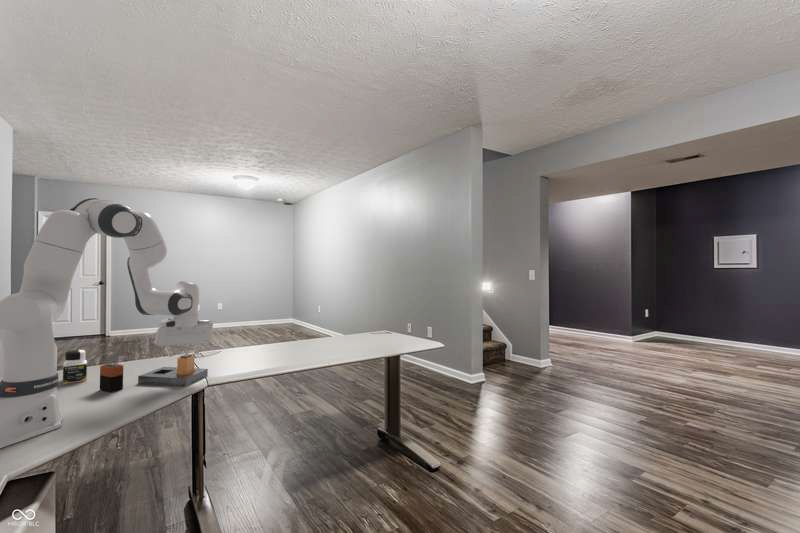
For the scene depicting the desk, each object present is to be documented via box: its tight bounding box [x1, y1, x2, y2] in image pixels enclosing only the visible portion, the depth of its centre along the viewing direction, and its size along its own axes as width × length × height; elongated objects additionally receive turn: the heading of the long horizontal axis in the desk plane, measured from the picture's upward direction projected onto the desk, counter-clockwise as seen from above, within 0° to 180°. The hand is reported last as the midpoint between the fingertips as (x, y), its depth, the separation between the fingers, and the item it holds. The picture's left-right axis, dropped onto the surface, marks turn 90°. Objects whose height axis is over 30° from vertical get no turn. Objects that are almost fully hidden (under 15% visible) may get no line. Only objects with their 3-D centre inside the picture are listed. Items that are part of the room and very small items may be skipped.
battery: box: [99, 361, 124, 393], centre depth 139 cm, size 4×7×10 cm, turn 70°
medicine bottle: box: [62, 349, 88, 385], centre depth 149 cm, size 7×7×12 cm
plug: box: [176, 353, 195, 375], centre depth 152 cm, size 5×4×10 cm
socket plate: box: [137, 366, 209, 386], centre depth 153 cm, size 14×20×3 cm
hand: (183, 355), depth 152 cm, fingers open, 8 cm apart
